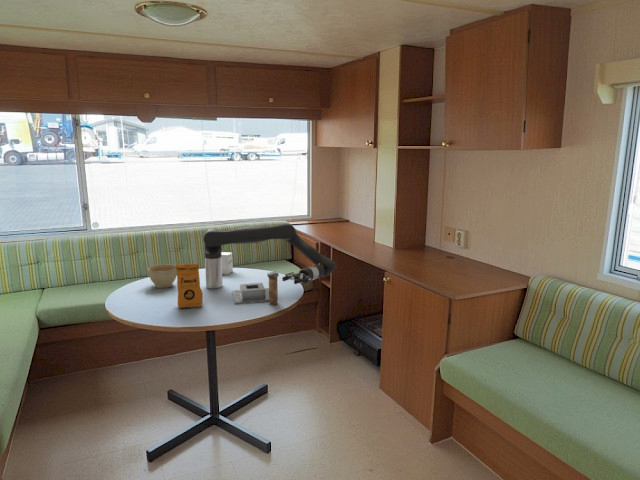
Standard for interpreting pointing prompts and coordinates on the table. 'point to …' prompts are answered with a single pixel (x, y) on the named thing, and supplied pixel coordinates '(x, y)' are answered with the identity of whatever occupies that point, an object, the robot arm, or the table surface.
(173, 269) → the planter bowl
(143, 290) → the table surface
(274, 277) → the walnut pin
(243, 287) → the socket block
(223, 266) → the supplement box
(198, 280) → the coffee package
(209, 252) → the robot arm
